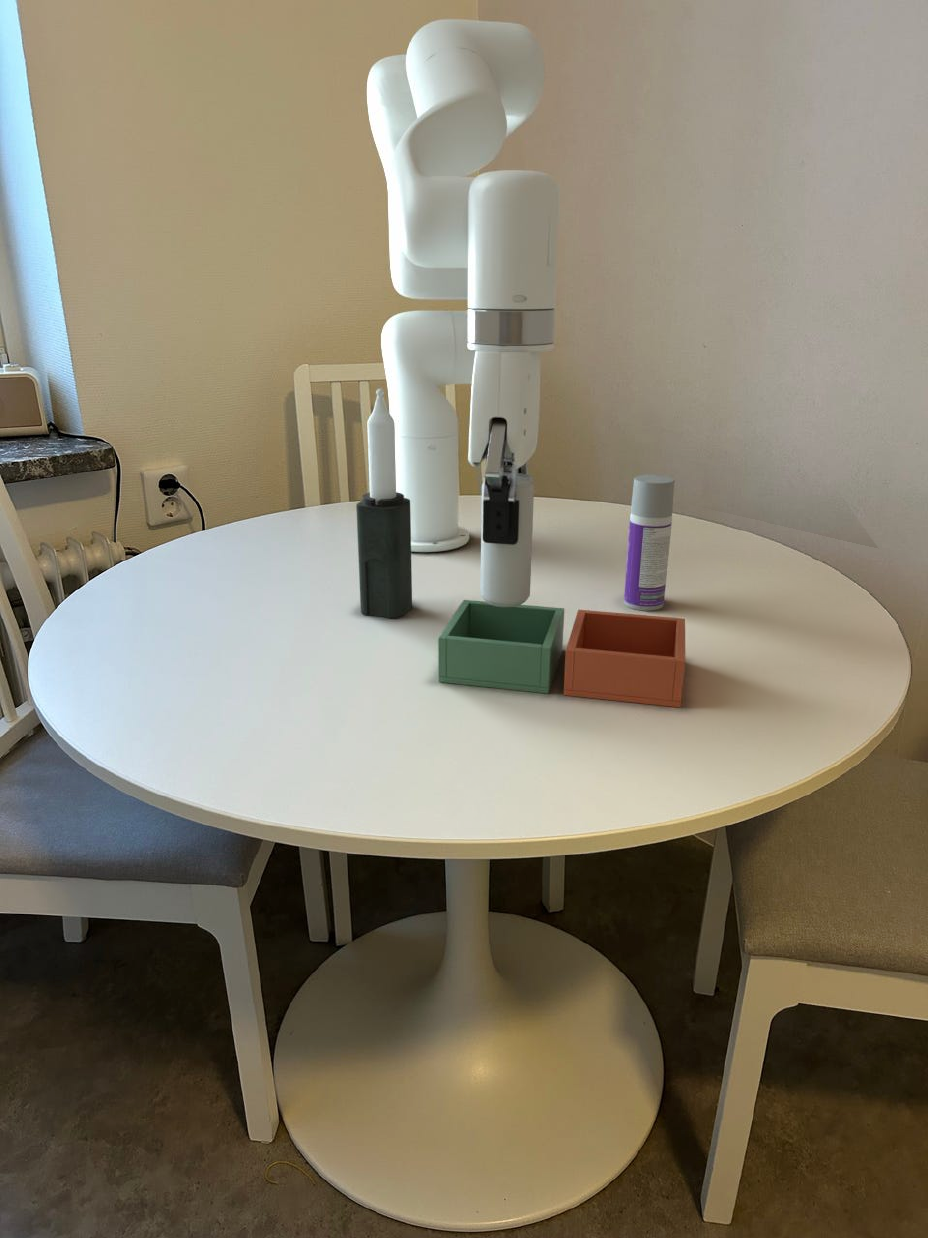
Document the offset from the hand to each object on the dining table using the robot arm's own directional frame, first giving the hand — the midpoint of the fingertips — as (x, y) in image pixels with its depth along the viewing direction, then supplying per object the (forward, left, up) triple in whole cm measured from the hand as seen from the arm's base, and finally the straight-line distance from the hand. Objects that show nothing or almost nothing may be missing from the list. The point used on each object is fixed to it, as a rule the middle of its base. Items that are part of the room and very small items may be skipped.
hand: (506, 532), depth 82 cm
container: (+13, +21, -14) cm, 28 cm away
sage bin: (0, 0, -14) cm, 14 cm away
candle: (-16, +12, -14) cm, 24 cm away
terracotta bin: (+12, 0, -14) cm, 18 cm away
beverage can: (0, 0, -7) cm, 7 cm away
